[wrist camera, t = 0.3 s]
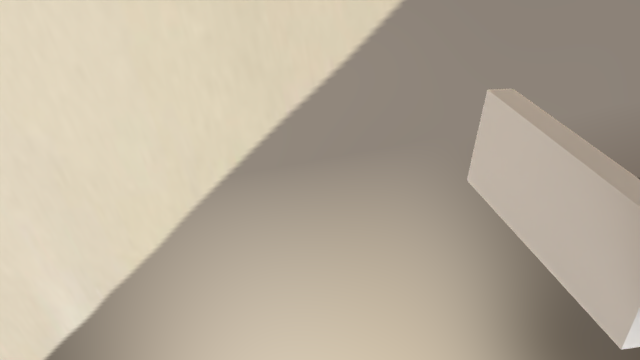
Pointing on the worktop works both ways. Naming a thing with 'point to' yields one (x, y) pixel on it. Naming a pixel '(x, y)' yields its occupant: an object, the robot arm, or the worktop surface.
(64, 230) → the worktop surface
